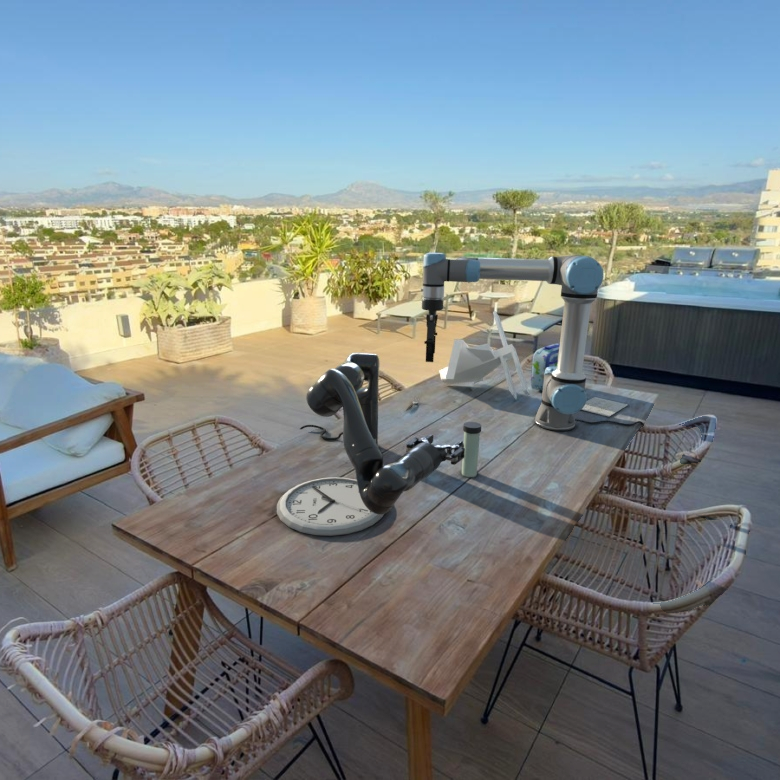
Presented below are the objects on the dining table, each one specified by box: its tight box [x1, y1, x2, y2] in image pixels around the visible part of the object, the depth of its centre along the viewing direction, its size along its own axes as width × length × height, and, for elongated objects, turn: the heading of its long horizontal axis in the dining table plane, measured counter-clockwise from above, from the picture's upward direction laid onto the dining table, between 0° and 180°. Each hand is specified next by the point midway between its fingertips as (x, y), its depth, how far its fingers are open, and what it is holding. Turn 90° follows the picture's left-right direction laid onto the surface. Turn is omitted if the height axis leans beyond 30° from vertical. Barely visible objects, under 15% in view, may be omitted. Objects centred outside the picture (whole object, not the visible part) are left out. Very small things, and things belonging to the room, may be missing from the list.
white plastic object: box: [438, 310, 531, 400], centre depth 245 cm, size 37×45×31 cm
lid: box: [462, 421, 482, 434], centre depth 158 cm, size 5×5×2 cm
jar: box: [461, 431, 481, 478], centre depth 160 cm, size 5×5×16 cm
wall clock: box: [276, 476, 385, 537], centre depth 142 cm, size 30×2×30 cm
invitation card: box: [580, 396, 629, 418], centre depth 226 cm, size 21×1×15 cm
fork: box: [405, 396, 421, 411], centre depth 222 cm, size 3×16×2 cm, turn 160°
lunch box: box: [530, 343, 560, 391], centre depth 249 cm, size 26×11×21 cm, turn 134°
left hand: (446, 441), depth 139 cm, fingers open, 8 cm apart
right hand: (430, 357), depth 190 cm, fingers open, 13 cm apart
